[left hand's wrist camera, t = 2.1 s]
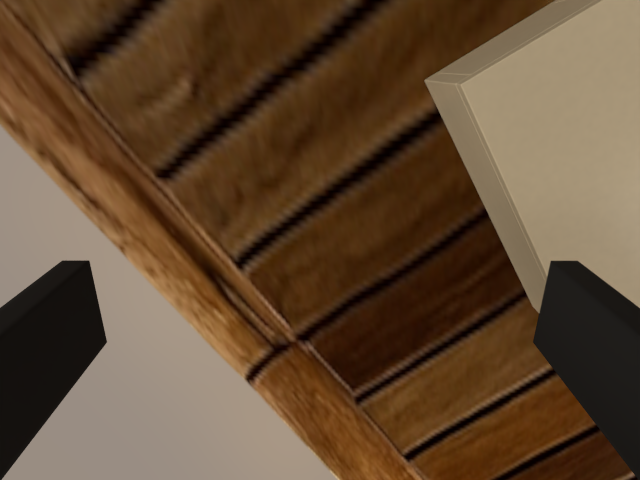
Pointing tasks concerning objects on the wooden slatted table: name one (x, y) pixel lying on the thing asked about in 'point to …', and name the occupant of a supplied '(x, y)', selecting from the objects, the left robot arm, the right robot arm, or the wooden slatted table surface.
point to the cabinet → (555, 138)
